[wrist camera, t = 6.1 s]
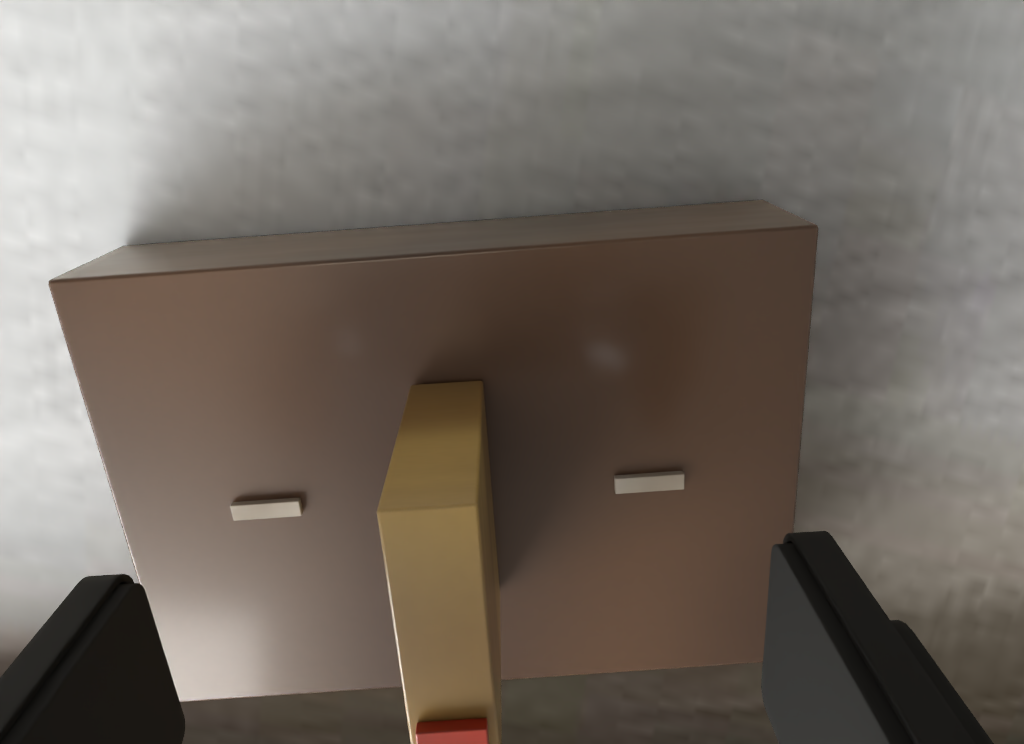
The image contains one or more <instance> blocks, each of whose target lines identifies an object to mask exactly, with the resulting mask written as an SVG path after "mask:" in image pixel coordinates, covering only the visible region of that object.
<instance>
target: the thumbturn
mask: <svg viewBox="0 0 1024 744" xmlns="http://www.w3.org/2000/svg"><path fill="white" fill-rule="evenodd" d="M377 518H378V525H379V532H380V539H381V545H382V552H383V559H384V566H385V573H386V579H387V586H388V593H389V600H390V607H391V613H392V620H393V627H394V634H395V640H396V647H397V654H398V661H399V668H400V674H401V681H402V688H403V695H404V702H405V708H406V715H407V722H408V729H409V736H410V742H411V744H502V739H501V635H500V586H499V573H498V561H497V548H496V536H495V523H494V511H493V499H492V486H491V474H490V461H489V449H488V437H487V424H486V412H485V399H484V387H483V382H482V381H468V382H452V383H436V384H421V385H411V387H410V390H409V394H408V398H407V401H406V405H405V409H404V412H403V416H402V420H401V423H400V427H399V431H398V435H397V438H396V442H395V446H394V449H393V453H392V457H391V461H390V464H389V468H388V472H387V475H386V479H385V483H384V486H383V490H382V494H381V498H380V501H379V505H378V509H377Z"/></svg>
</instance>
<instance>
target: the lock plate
mask: <svg viewBox="0 0 1024 744" xmlns="http://www.w3.org/2000/svg"><path fill="white" fill-rule="evenodd" d="M817 240H818V226H817V225H816V224H813V223H811V222H809V221H807V220H805V219H803V218H801V217H799V216H796V215H794V214H792V213H790V212H788V211H786V210H784V209H782V208H780V207H777V206H775V205H773V204H771V203H769V202H767V201H765V200H752V201H738V202H724V203H710V204H696V205H683V206H669V207H655V208H641V209H627V210H613V211H599V212H585V213H572V214H558V215H544V216H530V217H516V218H502V219H488V220H474V221H460V222H447V223H433V224H419V225H405V226H391V227H377V228H363V229H349V230H336V231H322V232H308V233H294V234H280V235H266V236H252V237H238V238H225V239H211V240H197V241H183V242H169V243H155V244H141V245H127V246H122V247H120V248H118V249H116V250H114V251H111V252H109V253H107V254H105V255H103V256H101V257H99V258H96V259H94V260H92V261H90V262H88V263H86V264H83V265H81V266H79V267H77V268H75V269H73V270H71V271H68V272H66V273H64V274H62V275H60V276H58V277H55V278H53V279H51V280H50V281H49V287H50V291H51V294H52V297H53V300H54V304H55V307H56V310H57V314H58V317H59V320H60V323H61V327H62V330H63V333H64V337H65V340H66V343H67V347H68V350H69V353H70V356H71V360H72V363H73V366H74V370H75V373H76V376H77V379H78V383H79V386H80V389H81V393H82V396H83V399H84V402H85V406H86V409H87V412H88V416H89V419H90V422H91V426H92V429H93V432H94V435H95V439H96V442H97V445H98V449H99V452H100V455H101V458H102V462H103V465H104V468H105V472H106V475H107V478H108V482H109V485H110V488H111V491H112V495H113V498H114V501H115V505H116V508H117V511H118V514H119V518H120V521H121V524H122V528H123V531H124V534H125V537H126V541H127V544H128V547H129V551H130V554H131V557H132V561H133V564H134V567H135V570H136V574H137V577H138V580H139V584H141V585H142V586H143V587H144V589H145V591H146V595H147V598H148V601H149V604H150V608H151V611H152V614H153V617H154V620H155V624H156V627H157V630H158V633H159V637H160V640H161V643H162V646H163V650H164V653H165V656H166V659H167V663H168V666H169V669H170V672H171V676H172V679H173V682H174V685H175V688H176V692H177V695H178V698H179V701H180V702H187V701H202V700H216V699H231V698H246V697H260V696H275V695H289V694H304V693H318V692H333V691H348V690H362V689H377V688H391V687H402V681H401V674H400V668H399V661H398V654H397V647H396V640H395V634H394V627H393V620H392V613H391V607H390V600H389V593H388V586H387V579H386V573H385V566H384V559H383V552H382V545H381V539H380V532H379V525H378V518H377V509H378V505H379V501H380V498H381V494H382V490H383V486H384V483H385V479H386V475H387V472H388V468H389V464H390V461H391V457H392V453H393V449H394V446H395V442H396V438H397V435H398V431H399V427H400V423H401V420H402V416H403V412H404V409H405V405H406V401H407V398H408V394H409V390H410V387H411V385H421V384H436V383H452V382H468V381H482V382H483V387H484V399H485V412H486V424H487V437H488V449H489V461H490V474H491V486H492V499H493V511H494V523H495V536H496V548H497V561H498V573H499V586H500V635H501V680H508V679H523V678H537V677H552V676H566V675H581V674H595V673H610V672H625V671H639V670H654V669H668V668H683V667H697V666H712V665H727V664H741V663H756V662H763V655H764V642H765V628H766V615H767V602H768V588H769V575H770V561H771V551H772V547H773V545H775V544H783V539H784V537H785V535H786V534H788V533H793V531H794V519H795V507H796V495H797V483H798V470H799V458H800V446H801V434H802V422H803V410H804V398H805V385H806V373H807V361H808V349H809V337H810V325H811V313H812V300H813V288H814V276H815V264H816V252H817Z"/></svg>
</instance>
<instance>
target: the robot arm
mask: <svg viewBox="0 0 1024 744" xmlns="http://www.w3.org/2000/svg"><path fill="white" fill-rule="evenodd" d="M761 688H762V696H763V702H764V706H765V709H766V712H767V714H768V717H769V719H770V722H771V724H772V727H773V729H774V732H775V734H776V737H777V739H778V742H779V744H994V743H993V742H992V741H991V739H990V738H989V737H988V735H987V734H986V732H985V731H984V730H983V728H982V727H981V725H980V724H979V723H978V721H977V720H976V718H975V717H974V716H973V714H972V713H971V711H970V710H969V709H968V707H967V706H966V705H965V703H964V702H963V700H962V699H961V698H960V696H959V695H958V693H957V692H956V691H955V689H954V688H953V686H952V685H951V684H950V682H949V681H948V679H947V678H946V677H945V675H944V674H943V673H942V671H941V670H940V668H939V667H938V666H937V664H936V663H935V661H934V660H933V659H932V657H931V656H930V654H929V653H928V652H927V650H926V649H925V647H924V646H923V645H922V643H921V642H920V641H919V639H918V638H917V636H916V635H915V634H914V632H913V631H912V630H911V629H910V628H909V627H908V626H907V624H906V623H904V622H902V621H900V620H891V621H890V620H889V618H888V617H887V615H886V614H885V612H884V611H883V610H882V608H881V607H880V605H879V604H878V602H877V601H876V599H875V598H874V597H873V595H872V594H871V592H870V591H869V589H868V588H867V586H866V585H865V584H864V582H863V581H862V579H861V578H860V576H859V575H858V573H857V572H856V571H855V569H854V568H853V566H852V565H851V563H850V562H849V560H848V559H847V558H846V556H845V555H844V553H843V552H842V550H841V549H840V547H839V546H838V544H837V543H836V542H835V540H834V539H833V537H832V536H831V535H830V534H829V533H828V532H826V531H817V532H800V533H788V534H786V535H785V537H784V539H783V544H775V545H773V547H772V551H771V561H770V575H769V588H768V602H767V615H766V628H765V642H764V655H763V669H762V683H761ZM184 732H185V719H184V714H183V711H182V708H181V705H180V701H179V698H178V695H177V692H176V688H175V685H174V682H173V679H172V676H171V672H170V669H169V666H168V663H167V659H166V656H165V653H164V650H163V646H162V643H161V640H160V637H159V633H158V630H157V627H156V624H155V620H154V617H153V614H152V611H151V608H150V604H149V601H148V598H147V595H146V591H145V589H144V587H143V586H142V585H141V584H138V583H134V582H133V579H132V578H131V577H130V576H129V575H125V574H119V575H103V576H88V577H85V578H83V579H82V580H81V581H80V582H79V583H78V584H77V585H76V586H75V588H74V589H73V590H72V591H71V592H70V594H69V595H68V596H67V597H66V598H65V600H64V601H63V602H62V603H61V605H60V606H59V607H58V608H57V609H56V611H55V612H54V613H53V614H52V615H51V617H50V618H49V619H48V620H47V622H46V623H45V624H44V625H43V626H42V628H41V629H40V630H39V631H38V632H37V634H36V635H35V636H34V637H33V639H32V640H31V641H30V642H29V643H28V645H27V646H26V647H25V648H24V649H23V651H22V652H21V653H20V654H19V656H18V657H17V658H16V659H15V660H14V662H13V663H12V664H11V665H10V667H9V668H8V669H7V670H6V671H5V673H4V674H3V675H2V676H1V677H0V744H182V741H183V737H184Z"/></svg>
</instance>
